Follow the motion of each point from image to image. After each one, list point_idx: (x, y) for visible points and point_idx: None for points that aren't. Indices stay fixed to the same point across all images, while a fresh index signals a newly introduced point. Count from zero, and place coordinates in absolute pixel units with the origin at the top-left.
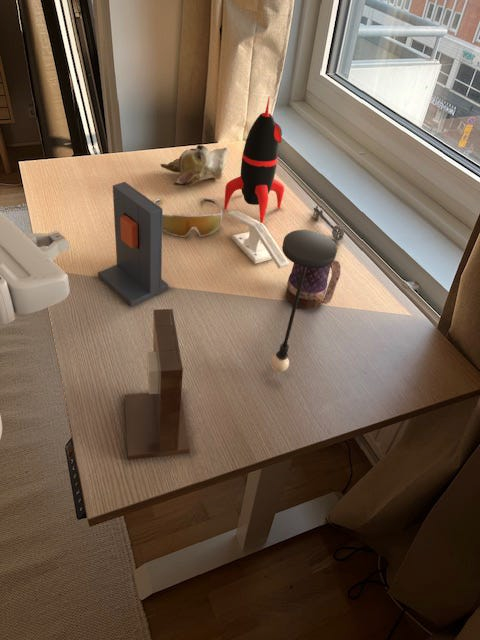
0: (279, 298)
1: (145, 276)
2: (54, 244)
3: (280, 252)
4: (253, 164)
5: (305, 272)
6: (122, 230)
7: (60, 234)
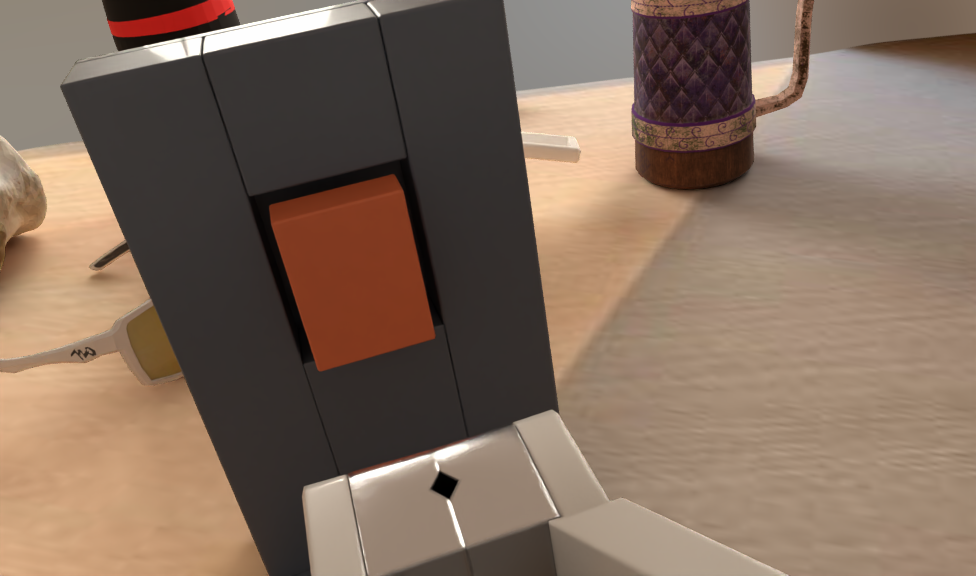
0: (685, 202)
1: None
2: (645, 525)
3: (528, 133)
4: (196, 22)
5: (734, 45)
6: (318, 298)
7: (400, 460)
